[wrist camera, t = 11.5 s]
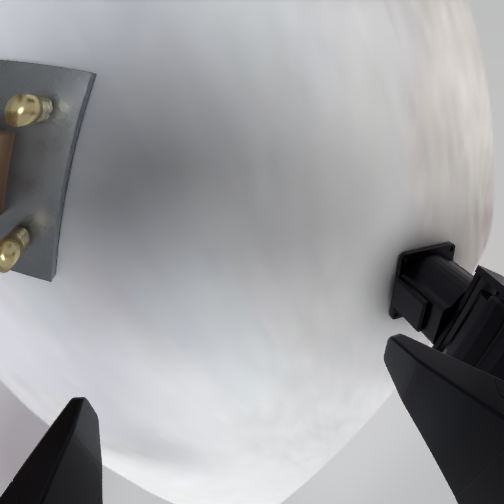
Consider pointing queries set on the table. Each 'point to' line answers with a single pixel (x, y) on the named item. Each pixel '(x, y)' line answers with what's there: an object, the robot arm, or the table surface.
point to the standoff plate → (38, 160)
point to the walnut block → (4, 162)
